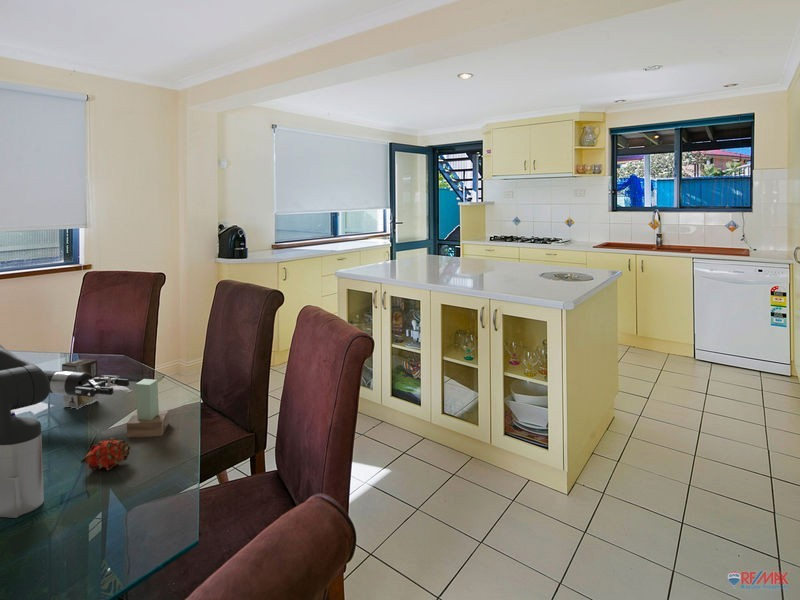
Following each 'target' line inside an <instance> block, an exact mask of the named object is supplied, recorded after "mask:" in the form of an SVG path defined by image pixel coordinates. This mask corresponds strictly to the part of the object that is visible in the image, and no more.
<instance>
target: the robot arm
mask: <svg viewBox="0 0 800 600" xmlns="http://www.w3.org/2000/svg"><path fill="white" fill-rule="evenodd" d="M115 386H116V387H117V386H118V387H129V386H130V380H129V379H128V378H121V376H120V375H112V374H111V375H110V374H109V375H107V374H102V375H101V376H100V377H99V376H98V377H96V378H93V377H92V376H91V375H90V374H89V373H84V372H71V371H62V370H61V371H57V370H42V369H41V368H40V367H39V366H37V365H36V364H33V363H32V362H29V361H26V360H25V359H22V358H21V357H19V356H17V355H15V354H13V353H12V352H10V351H9V350H8V349H6V348H5V347H4V346H2V345H1V344H0V518H10V519H11V518H13V519H15V518H16V519H17V518H18V517H20V516H22V515H25V514H28V513H31V512H32V511H35V510H37V509H38V508H39V507H41V506H42V505H43V503H44V502H45V501H44V500H45V497H44V472H43V445H42V443H43V442H42V441H43V440H42V439H43V438H42V424H41V421H39V420H38V419H37V418H33V417H23V416H13V415H12V411H14V410H18V409H19V410H20V409H21V408H27V407H30V406H34V405H35V406H36V405H37V404H40V403H42V402H44V401H45V400H46V399H48V396H49V394H58V395H62V396H63V395H75V396H88V397H94V396H95V394H96V395H98V396H99V395H104V396H105V395H106V396H111V395H113V394H114V393H115V392H114V388H113V387H115ZM88 393H90V394H88Z"/></svg>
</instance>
